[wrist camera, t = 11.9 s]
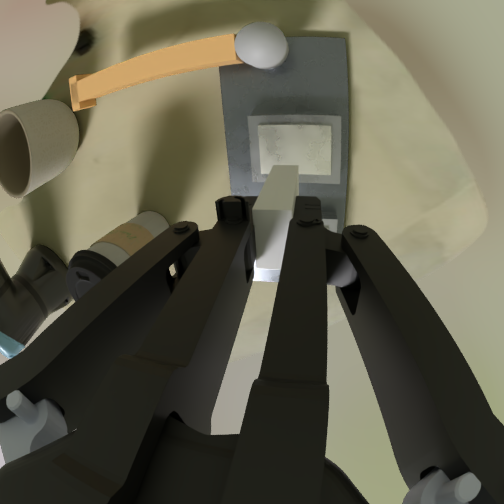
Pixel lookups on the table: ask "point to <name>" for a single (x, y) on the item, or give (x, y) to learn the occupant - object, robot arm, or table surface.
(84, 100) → the swing arm
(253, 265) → the robot arm
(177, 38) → the table surface
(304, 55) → the grey switch panel
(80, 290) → the coffee cup
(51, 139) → the planter
